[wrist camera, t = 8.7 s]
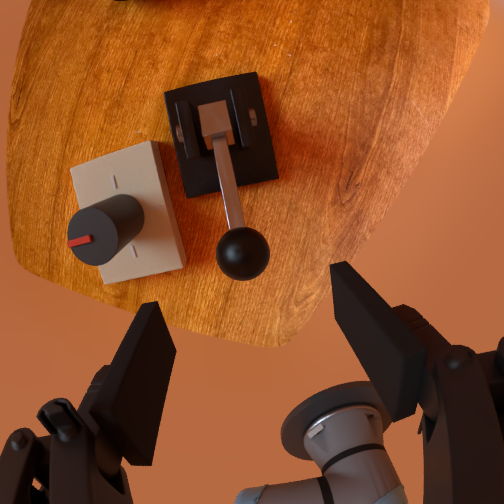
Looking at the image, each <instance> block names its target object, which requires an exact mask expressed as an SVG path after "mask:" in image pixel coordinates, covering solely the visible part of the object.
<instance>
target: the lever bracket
mask: <svg viewBox="0 0 504 504" xmlns="http://www.w3.org/2000/svg"><path fill="white" fill-rule="evenodd" d="M164 98H165V103H166V108H167V113H168V118H169V122H170V127H171V132H172V137H173V141H174V146H175V150H176V155H177V159H178V163H179V168H180V172H181V176H182V181H183V185H184V189H185V193H186V197H187V198H192V197H196V196H200V195H205V194H209V193H213V192H218V191H221V187H220V181H219V176H218V171H217V166H216V161H215V156H214V150H213V149H210V150H208V149H207V147H206V144H205V142H204V139H203V137H202V132H201V126H200V120H199V114H198V108H197V107H198V106H200V105H204V104H209V103H213V102H218V101H222V100H226V102H227V106H228V111H229V115H230V120H231V124H232V129H233V134H234V140H235V144H232V145H228V146H229V151H230V156H231V161H232V165H233V170H234V175H235V179H236V184H237V187H240V186H245V185H250V184H254V183H259V182H264V181H269V180H274V179H279V175H278V170H277V165H276V160H275V155H274V150H273V145H272V140H271V135H270V130H269V126H268V121H267V116H266V112H265V107H264V103H263V98H262V94H261V89H260V85H259V80H258V76H257V72H251V73H245V74H239V75H234V76H229V77H224V78H219V79H214V80H210V81H205V82H201V83H197V84H193V85H189V86H185V87H181V88H177V89H174V90H170V91H167V92H164Z"/></svg>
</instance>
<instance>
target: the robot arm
mask: <svg viewBox="0 0 504 504" xmlns="http://www.w3.org/2000/svg"><path fill="white" fill-rule="evenodd" d="M330 274H331V283H332V293H333V303H334V315H335V320H336V321H337V323H338V325H339V326H340V328H341V330H342V332H343V333H344V335H345V337H346V339H347V340H348V342H349V344H350V345H351V347H352V349H353V351H354V352H355V354H356V356H357V358H358V359H359V361H360V363H361V365H362V366H363V368H364V370H365V372H366V374H367V375H368V377H369V379H370V381H371V383H372V384H373V386H374V388H375V390H376V392H377V393H378V395H379V397H380V399H381V401H382V403H383V404H384V406H385V408H386V410H387V412H388V414H389V415H390V417H391V419H392V421H393V423H394V422H396V421H399V420H401V419H404V418H406V417H409V416H411V415H413V414H415V411H416V407H417V403H419V405H420V406H421V408H422V409H423V411H424V412H423V416H422V419H421V422H420V425H419V429H418V434H421V431H422V433H423V454H424V497H423V504H504V337H503V338H501V340H500V342H499V344H498V347H497V350H495V351H490V352H485V353H480V354H476V353H475V352H474V351H473V350H472V349H470V348H469V347H466V346H463V345H451V344H450V343H449V342H448V341H447V340H446V339H445V338H444V337H443V336H442V335H441V334H440V333H439V332H438V331H437V330H436V329H435V328H434V327H433V326H432V325H431V324H430V325H429V322H428V321H427V320H426V319H424V318H423V316H422V315H421V314H420V313H419V312H417V311H416V310H415V309H414V308H411V307H409V306H407V305H404V304H402V305H399V306H396V307H393V308H391V307H390V306H389V305H388V304H387V303H386V302H385V300H384V299H383V298H382V297H381V296H380V295H379V294H378V293H377V292H376V291H375V290H374V289H373V288H372V287H371V286H370V285H369V284H368V283H367V282H366V281H365V280H364V279H363V278H362V277H361V276H360V275H359V274H358V273H357V272H356V271H355V270H354V269H353V267H352V266H351V265H350V264H349V263H348V262H347V261H343V262H339V263H335V264H330ZM175 355H176V348H175V346H174V343H173V341H172V338H171V336H170V333H169V331H168V328H167V325H166V323H165V320H164V318H163V315H162V312H161V309H160V307H159V304H158V301H155V302H149V303H144V304H142V305H141V307H140V308H139V310H138V312H137V314H136V316H135V318H134V320H133V321H132V323H131V325H130V327H129V329H128V331H127V333H126V335H125V337H124V339H123V341H122V342H121V344H120V346H119V348H118V350H117V352H116V354H115V356H114V358H113V360H112V362H111V364H110V365H104V366H103V367H102V368H101V369H100V370H99V371H98V372H97V373H96V374H95V376H94V378H93V380H92V382H91V385H90V386H89V388H88V390H87V393H86V394H85V396H84V398H83V400H82V402H81V404H80V406H79V408H78V410H77V411H76V409H75V408H74V407H73V405H72V404H71V402H70V401H68V400H67V399H65V398H57V399H53V400H51V401H49V402H48V403H46V404H45V405H43V406H42V407H41V409H40V410H39V411H38V414H37V418H38V420H39V421H40V422H41V423H42V425H43V426H44V427H45V428H46V429H47V431H48V432H49V433H50V434H51V435H48V436H44V437H37V436H36V435H35V434H34V433H33V432H32V431H31V430H30V429H29V428H20V429H17V430H15V431H14V432H13V433H12V434H11V435H10V436H9V438H8V440H7V442H6V444H5V446H4V449H3V451H2V454H1V456H0V504H133V500H132V496H131V492H130V488H129V483H128V479H127V475H126V472H125V470H124V468H123V467H122V466H121V461H122V457H124V458H125V459H126V460H127V461H128V462H129V463H130V465H134V466H152V461H153V456H154V451H155V445H156V440H157V435H158V431H159V426H160V421H161V416H162V412H163V407H164V403H165V398H166V394H167V389H168V385H169V381H170V376H171V372H172V368H173V364H174V359H175ZM302 439H303V444H304V447H305V449H306V451H307V452H308V454H309V455H310V456H311V458H312V459H313V460H314V462H315V463H316V464H317V466H318V467H319V468H320V469H321V472H322V476H321V477H317V478H312V479H307V480H301V481H295V482H289V483H282V484H276V485H264V486H260V487H253V488H247V489H244V490H242V491H241V492H240V493H239V494H238V495H237V497H236V500H235V503H234V504H408V500H407V497H406V495H405V492H404V486H403V485H402V484H401V482H400V480H399V477H398V475H397V473H396V471H395V468H394V467H393V465H392V462H391V460H390V458H389V456H388V454H387V452H386V450H385V448H384V445H383V426H382V418H381V415H380V413H379V412H378V410H377V408H376V407H375V406H373V405H371V404H369V403H363V402H355V403H348V404H344V405H340V406H337V407H334V408H332V409H330V410H328V411H325V412H324V413H322V414H320V415H319V416H317V417H316V418H315V419H313V420H312V421H311V422H310V423H309V424H308V425H307V427H306V428H305V430H304V432H303V436H302ZM34 478H35V479H36V480H37V481H38V482H39V483H40V484H41V488H40V489H39V490H37V489H36V488H35V487H34V486H33V485H32V483H33V479H34Z"/></svg>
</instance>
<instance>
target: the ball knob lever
mask: <svg viewBox="0 0 504 504" xmlns="http://www.w3.org/2000/svg"><path fill="white" fill-rule="evenodd" d="M197 108H198V114H199V120H200V126H201V132H202V137H203V139H204V142H205V144H206V147H207V149H208V150H210V149H213V150H214V156H215V161H216V166H217V171H218V176H219V181H220V187H221V192H222V197H223V202H224V207H225V212H226V217H227V222H228V227H229V231H228V232H226V233H225V234H224V235H223V236H222V237H221V239H220V240H219V242H218V245H217V248H216V260H217V263H218V265H219V267H220V269H221V270H222V271H223V273H224V274H226V275H227V276H228V277H230V278H232V279H234V280H239V281H247V280H251V279H254V278H256V277H257V276H259V275H260V274H261V273H262V272H263V271H264V270H265V269H266V267H267V265H268V262H269V259H270V249H269V245H268V243H267V241H266V239H265V238H264V236H263V235H262V234H261V233H260V232H258V231H257V230H255V229H252V228H249V227H246V226H245V222H244V217H243V212H242V208H241V203H240V198H239V193H238V189H237V184H236V179H235V175H234V170H233V165H232V161H231V156H230V151H229V146H228V145H232V144H235V140H234V134H233V129H232V124H231V120H230V115H229V111H228V106H227V102H226V100H222V101H218V102H213V103H209V104H204V105H200V106H198V107H197Z"/></svg>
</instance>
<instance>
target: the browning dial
mask: <svg viewBox="0 0 504 504" xmlns="http://www.w3.org/2000/svg"><path fill="white" fill-rule="evenodd" d="M144 219H145V217H144V211H143V208H142V206H141V205H140V203H139V202H138V201H137V200H136V199H135V198H134V197H132V196H130V195H127V194H118V195H115V196H112V197H110V198H107V199H105V200H102V201H100V202H98V203H95V204H93V205H90V206H88V207H86V208H83V209H81V210H79V211H78V212H77V213H75V214H74V216H73V217H72V218H71V220H70V222H69V226H68V232H67V234H68V241H67V244H68V247H69V248H71V250H72V251H73V253H74V254H75V255H76V257H77V258H78V259H80V260H81V261H82V262H84V263H86V264H88V265H93V266H100V265H103V264H106V263H108V262H109V261H110V260H111V259H112V258H113V257H114V256H115V255H116V254H118V253H119V252H120V251H121V250H122V249H123V248H124V247H125V246H126V245H127V244H128V243H129V242H130V241H131V240H133V239H134V238H135V237H136V236H137V235H138V234H139V233H140V231H141V230H142V228H143V225H144Z"/></svg>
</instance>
